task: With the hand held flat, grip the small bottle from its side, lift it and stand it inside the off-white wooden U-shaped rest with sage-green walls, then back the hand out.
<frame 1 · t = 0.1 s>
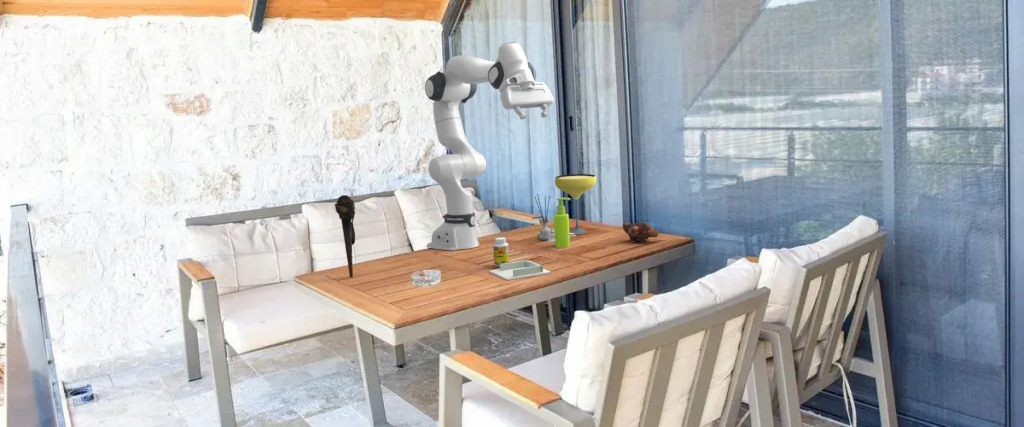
hand: (534, 117, 283), 54 cm above the table, tool tilted 30°, fingers open, 8 cm apart
decorative torch: (351, 277, 291), on the table
reed diffuser: (542, 240, 342), on the table
soap dispenser: (563, 246, 327), on the table
supplement bottle: (501, 265, 299), on the table
u rest: (519, 272, 285), on the table
decorative turtle: (640, 242, 330), on the table
cocktail glass: (577, 233, 355), on the table
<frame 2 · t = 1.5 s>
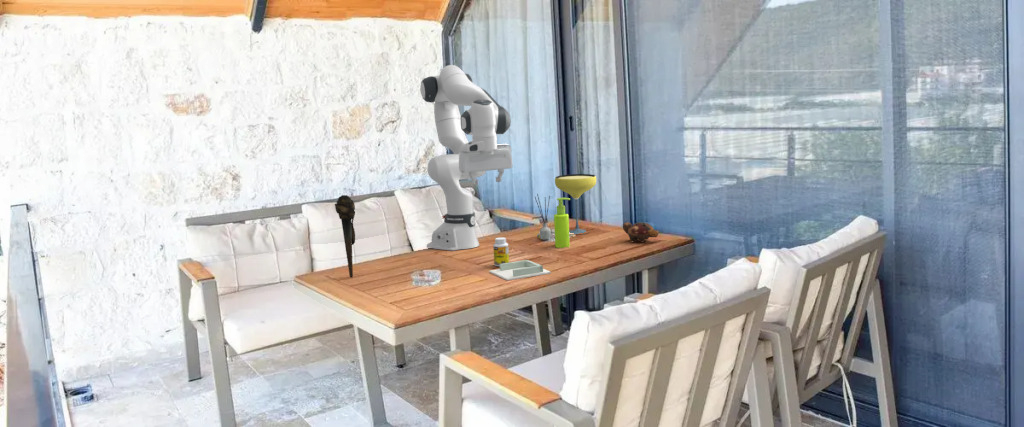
hand: (487, 183, 292), 31 cm above the table, tool pointing down, fingers open, 8 cm apart
nothing on the table moved.
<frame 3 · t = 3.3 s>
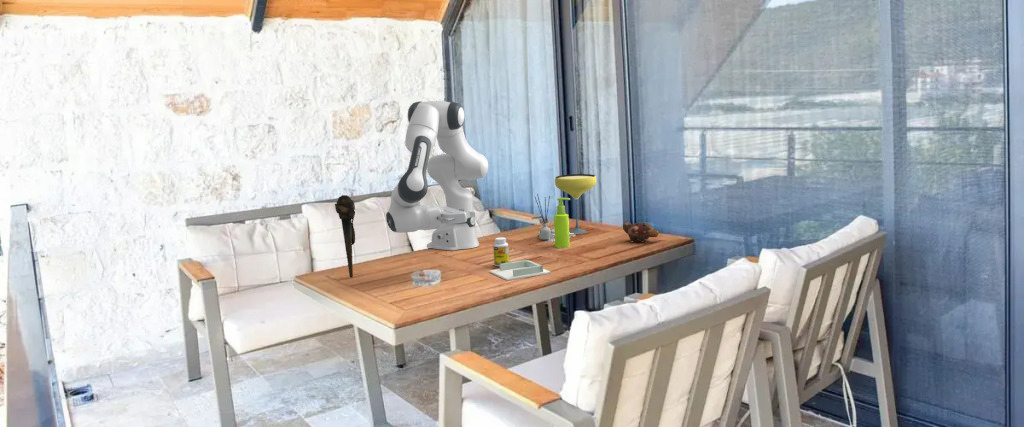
hand: (468, 212, 290), 21 cm above the table, tool horizontal, fingers open, 8 cm apart
nothing on the table moved.
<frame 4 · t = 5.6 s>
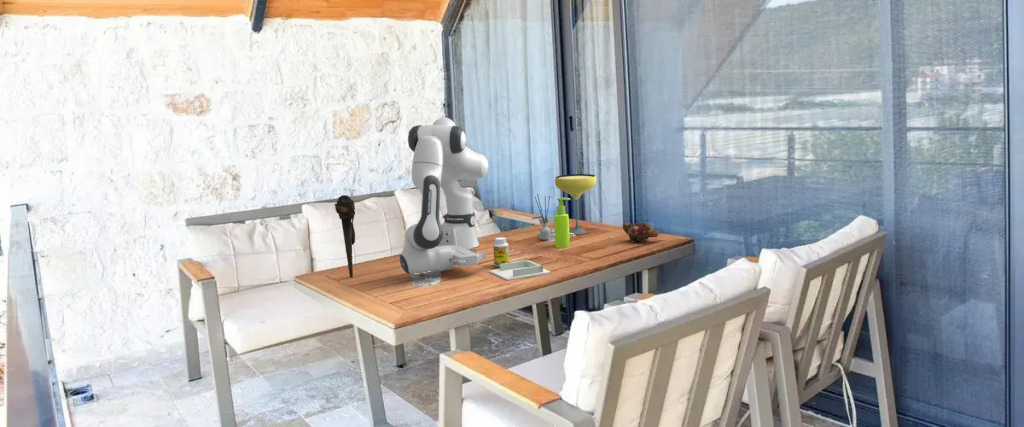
hand: (480, 252, 294), 6 cm above the table, tool horizontal, fingers open, 8 cm apart
nothing on the table moved.
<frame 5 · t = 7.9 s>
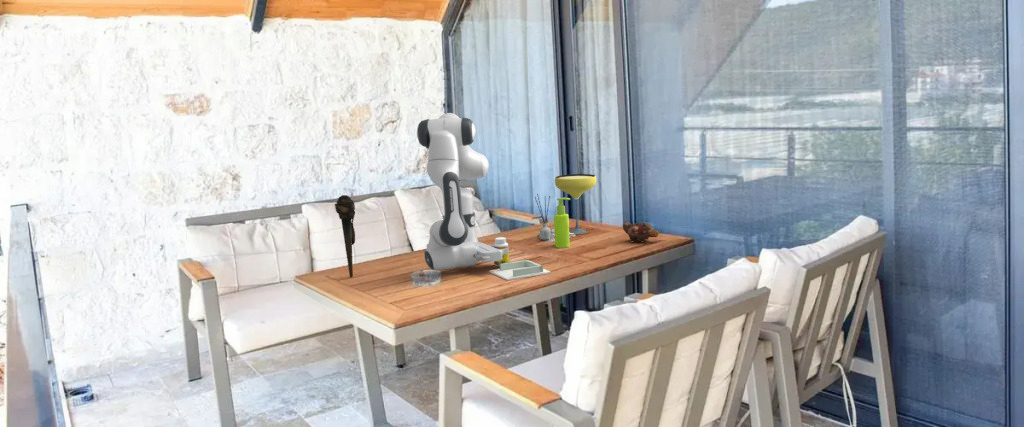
hand: (503, 249, 298), 6 cm above the table, tool horizontal, fingers closed on supplement bottle, 5 cm apart
supplement bottle: (501, 265, 299), on the table, touching gripper
everything else where it was.
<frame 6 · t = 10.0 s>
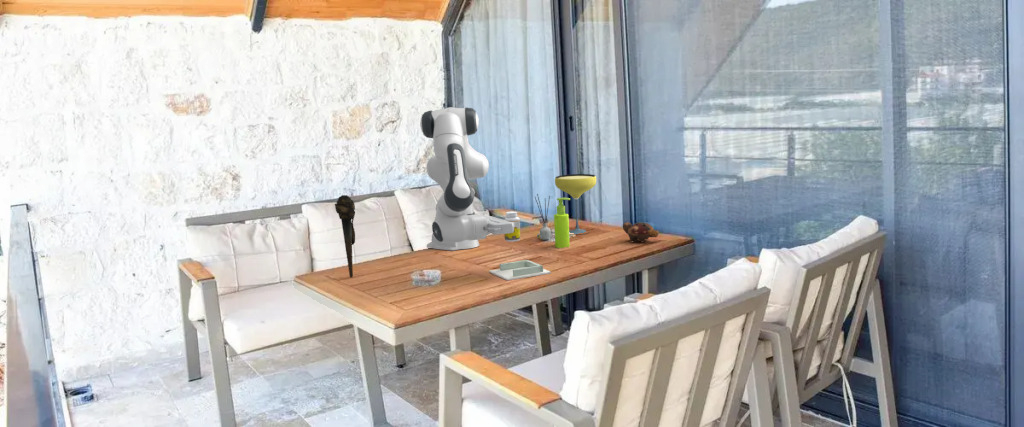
hand: (514, 222, 286), 18 cm above the table, tool horizontal, fingers closed on supplement bottle, 5 cm apart
supplement bottle: (512, 241, 287), point 11 cm above the table, touching gripper
everything else where it was.
when the fingers open (8 cm above the table, at t = 12.6 s): supplement bottle stays where it is, resting on u rest.
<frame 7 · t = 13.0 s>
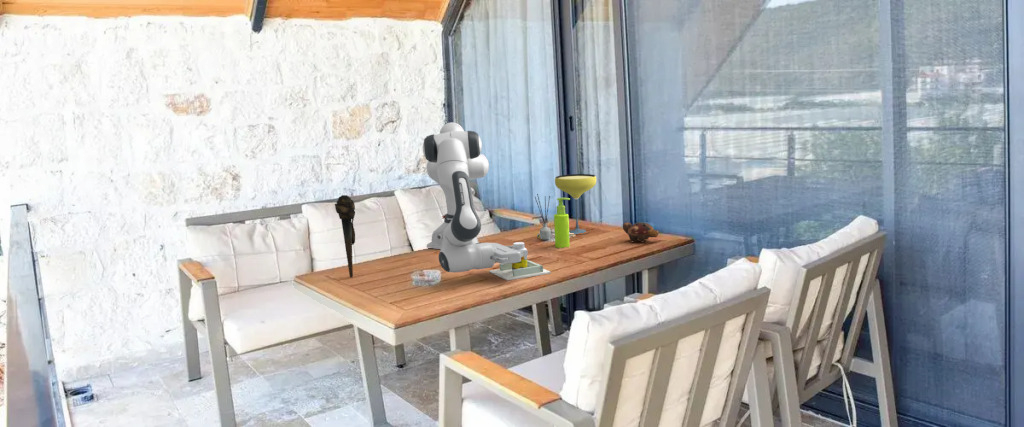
hand: (520, 250, 284), 8 cm above the table, tool horizontal, fingers open, 8 cm apart
supplement bottle: (519, 271, 285), resting on u rest
everything else where it was.
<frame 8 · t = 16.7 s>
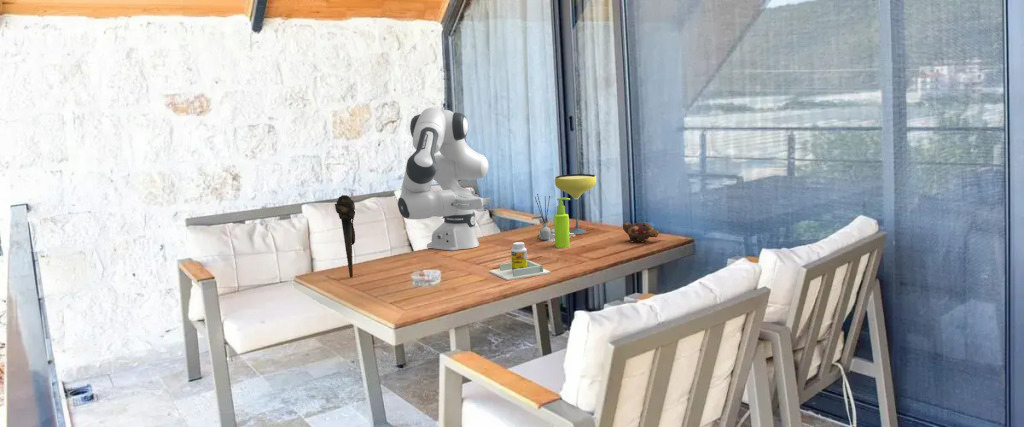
hand: (484, 198, 276), 28 cm above the table, tool horizontal, fingers open, 8 cm apart
nothing on the table moved.
at the end: supplement bottle 0.3 cm from the u rest (horizontally); supplement bottle tilted 0°; supplement bottle resting on u rest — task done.
